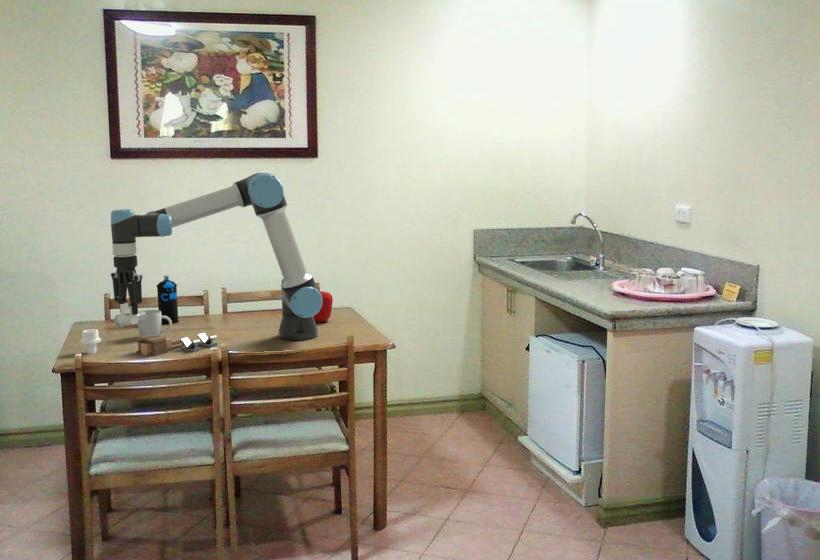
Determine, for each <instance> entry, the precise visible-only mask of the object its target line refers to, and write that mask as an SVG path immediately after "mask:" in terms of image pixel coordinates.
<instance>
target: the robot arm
mask: <svg viewBox="0 0 820 560" xmlns="http://www.w3.org/2000/svg"><path fill="white" fill-rule="evenodd" d="M284 191H285V190H284V185H283V183H282V182H281V180H280V179H279V178H278V177H277V176H276V175H274V174H272V173H269V172H255V173H253V174H251V175H249V176H247V177H245V178H243V179H240V180H238V181H234V182H233V183H232V185H231V186H228V187H225V188H222V189H218V190H216V191H213V192H210V193H207V194H204V195H201V196H197V197H195V198H190V199H188V200H185V201H182V202H178V203H176V204H172V205H169V206H167V207H164V208H159V209H157V210H152V211H151V210H150V211H149V212H146V214H135V211H134V209H133V208H130V209H127V208H125V209H124V208H123V209H119V208H118V209H113V210H112V211H110V228H111V230H110V231H111V241H112V244H111V245H112V255H113V259H112V260H113V267H114V268H115V269H116V271H115V272H112V273H111V272H110V276H111V277H110V278H111V279H112V289H113V290H112V291H113V297H114V298H113V299H114V302H117V303H118V305H119V312H120V314H126V313H129V317H130V325H129V326H131V325H137V323H138V315H137V314H138V311H139V309H138V307H139V306H138V305H140V304H142V302H143V293H142V280H143V275H142V274H138V273H137V271H136V267H137V266H138V256H137V255H136V254H137V252H138V251H137V239H136V238H152V237H157V238H158V237H160V238H163V237H170V236H172V234H173V228H176V227H178V226H181V225H185V224H187V223H191V222H194V221H197V220H200V219H203V218H206V217H207V218H208V217H209V216H212V215H215V214H218V213H221V212H222V213H223V212H226V211H228V210H231V209H233V208H237V207H240V208H246V207H249V206H252V208H253V211H254V214H255V216H256V217H258V218H260V219H261V220H262V224H263V226H264V228H265V230H266V234H267V237H268V239H269V242H270V244H271V247H272V250H273V253H274V256H275V258H276V261H277V264H278V267H279V270H280V272H281V275H282V279H281V284H280V287H281V288H280V289H281V309H282V310H281V311H282V314H281V315H282V318H281V321H280V324H279V329H278V334H277V335H278V338H279V339H282V340H286V341H287V340H288V341H303V340H310V339H311V340H312V339H314V338H317V337H318V335H319V329H318V327H317V324H316V322H315V321H314V318H313V316H314V315H316V314H317V313H318V312H319V311H320V309H321V307H322V303H323V300H322V295H321V293H320V292H319V289H318V287H317V285H316V283H315V280H314V276H313V275H312V274H310V273H308V272H307V270H306V266H305V264H304V261H303V258H302V254H301V253H300V250H299V247H298V244H297V241H296V237H295V236H294V232H293V230H292V227H291V225H290V222H289V218H288V215H287V213H286V209H287V207H288V204H287V200H286V198H285V197H286V196H285V194H284V193H285V192H284ZM127 294H128V300H129V301H128V300H127ZM128 302H129V303H128Z"/></svg>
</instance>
